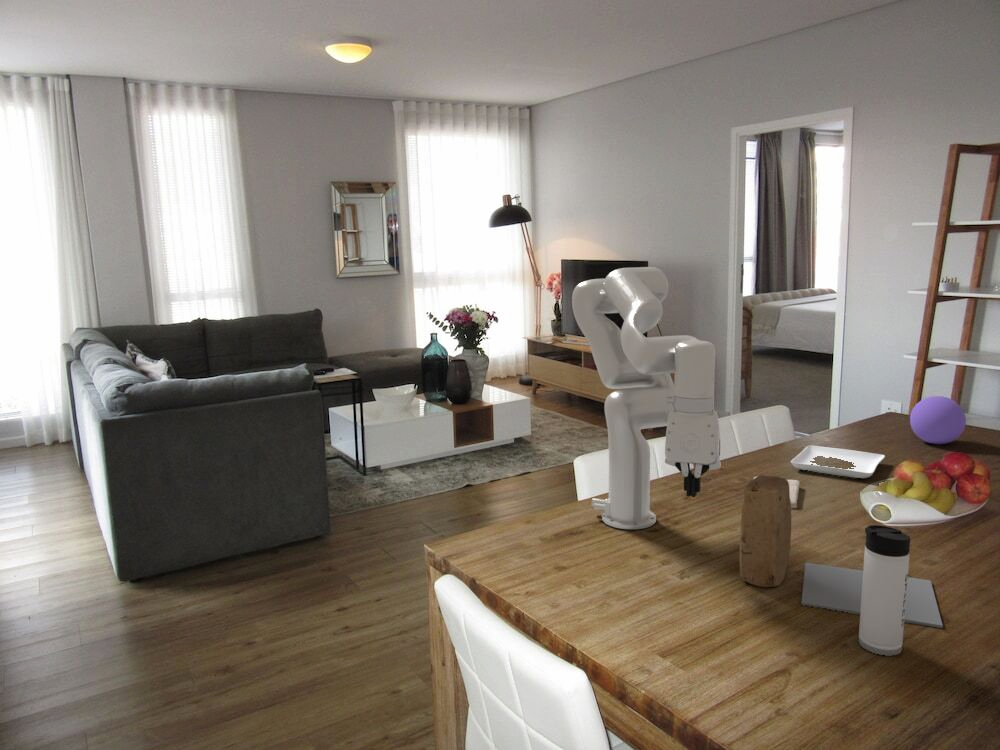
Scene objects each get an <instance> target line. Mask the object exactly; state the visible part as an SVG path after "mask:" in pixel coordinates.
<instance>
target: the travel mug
mask: <svg viewBox="0 0 1000 750" xmlns="http://www.w3.org/2000/svg"><path fill="white" fill-rule="evenodd" d="M864 533H865V544H864V555H863V570H862V571H863V582H862V596H861V611H860V615H859V628H858V629H859V630H858V644H859V645H860V647H861V648H862V649H864V650H865V649H866V651H867V650H868V652H869V651H870V653H871V652H872V654H874V653H875V654H874V655H877V654H879V655H878V656H882V655H885V656H884V657H892V656H893V655H894V656H897V655H899V654H901V652H902V650H903V641H904V630H905V629H904V628H905V627H904V626H905V622H904V618H905V606H906V593H907V581H908V577H909V566H910V554H911V552H910V550H911V549H910V548H911V547H910V546H911V540H912V539H911V537H910V535H907V534H906V533H904V532H902V531H901V530H900V529H898V528H894V527H890V526H885V525H879V524H871V525H868V526H866V528H864Z"/></svg>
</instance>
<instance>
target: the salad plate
mask: <svg viewBox="0 0 1000 750" xmlns="http://www.w3.org/2000/svg"><path fill="white" fill-rule="evenodd" d="M817 456H823V457H825V458H829V457H832V458H837V459H841V460H844V461H848V462H852V464H853V463H854V464H853V465H854V466H856V467H851V468H854V469H849V468H848V469H842V468H835V467H828V466H820V465H817V464H816V463H812V462H810V461H815V460H814V459H813V458H815V457H817ZM885 458H886V456H885V454H879V453H873V452H868V451H867V452H866V451H859V450H852V449H847V448H837V447H836V448H835V447H828V446H820V445H810V444H809V445H807V446H805V448H804V449H802V450H801V452H800V453H798V454H797V455H796V456H795V457H794V458H792V459H791V460H790V463H791V464H792V466H794V467H795V468H797V469H799V470H802V471H805V470H808V471H807V472H809V471H815V472H822V473H829V474H836V475H842V476H849V477H855V478H861V479H867V478H871V476H873V475H874V473H875V471H876V470H877V467H878V465H880V463H881V462H882V461H884V460H885ZM811 464H813V465H811ZM855 478H854V479H855Z"/></svg>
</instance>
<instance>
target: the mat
mask: <svg viewBox="0 0 1000 750" xmlns="http://www.w3.org/2000/svg"><path fill="white" fill-rule="evenodd" d="M802 582H803V583H802V584H803V585H802V593H801V604H802V605H801V606H805V605H809V606H808V607H811V606H815V607H814V608H817V607H821V608H820V609H823V608H827V609H826V610H829V609H831V610H830V611H835V610H837V611H836V612H841V611H844V612H843V613H847V612H848V614H854V615H859V616H860V611H861V596H862V582H863V570H861V569H860V570H859V569H852V568H848V567H838V566H834V565H833V566H832V565H828V564H818V563H814V562H812V563H811V562H804V573H803V581H802ZM941 617H942V616H941V615H940V611H939V605H938V603H937V599H936V596H935V592H934V588H933V584H932V580H930V579H922V578H916V577H909V576H908V581H907V593H906V606H905V618H904V623H908V624H915V625H918V626H919V625H921V626H925V627H927V626H928V627H933V628H940V629H943V628H944V625H943V622H942V618H941Z"/></svg>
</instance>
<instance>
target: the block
mask: <svg viewBox="0 0 1000 750" xmlns="http://www.w3.org/2000/svg"><path fill="white" fill-rule="evenodd" d="M755 477H756V476H755ZM787 480H788V479H786V478H785V477H783V478H782V477H779V476H772V475H763V474H761V475H758V477H756V478H755V479H751V480H750V481H748V484H747V485H745V487H744V490H743V491H744V492H743V493H744V497H743V502H742V506H741V519H740V532H739V533H740V534H739V537H740V538H739V576H740V578H741V580H743V581H744V582H747V583H749V585H750V584H751V585H754V586H756V587H760V588H769V587H770V588H772V587H773V588H774V587H775V588H776V587H777V586H780V585H781V584H782V583H783V582H784V580H785V577H786V574H787V568H788V566H789V562H790V554H791V553H790V551H791V540H792V539H791V538H792V508H791V502H790V491H789V483H788V481H787Z"/></svg>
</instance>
